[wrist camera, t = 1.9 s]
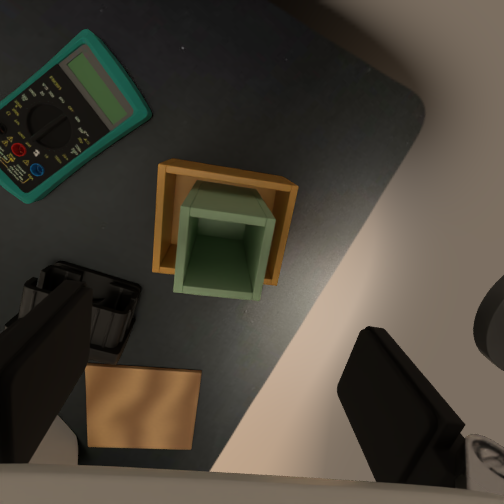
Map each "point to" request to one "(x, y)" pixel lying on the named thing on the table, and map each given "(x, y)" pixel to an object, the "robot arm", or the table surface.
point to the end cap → (103, 306)
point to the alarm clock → (57, 446)
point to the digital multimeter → (66, 117)
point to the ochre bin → (187, 173)
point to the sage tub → (223, 242)
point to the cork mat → (141, 406)
